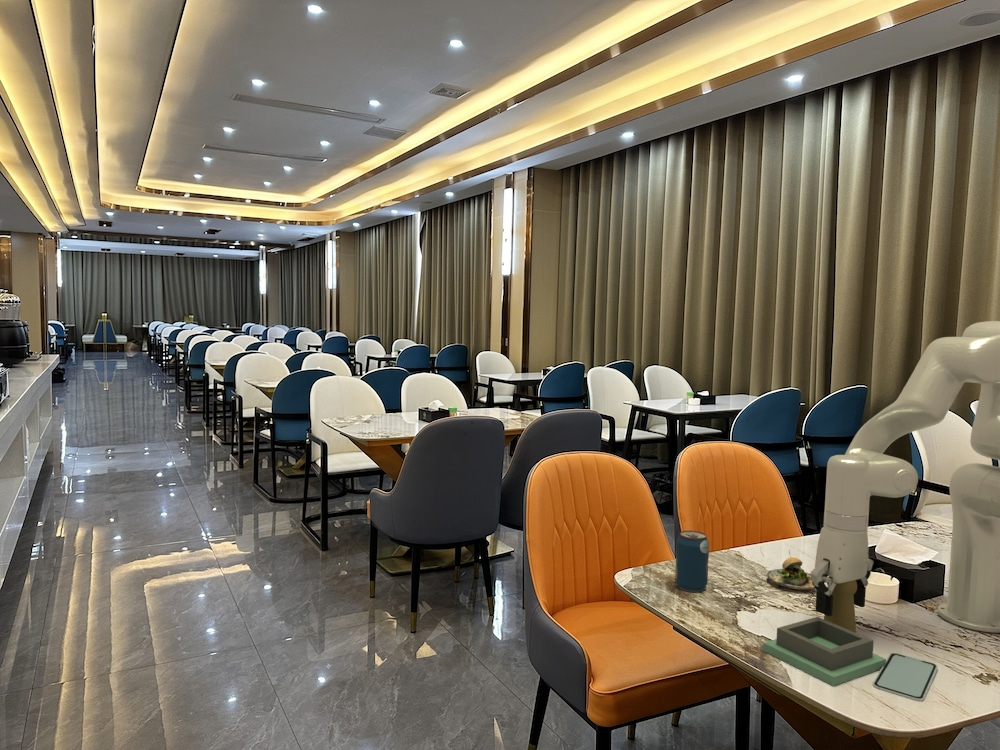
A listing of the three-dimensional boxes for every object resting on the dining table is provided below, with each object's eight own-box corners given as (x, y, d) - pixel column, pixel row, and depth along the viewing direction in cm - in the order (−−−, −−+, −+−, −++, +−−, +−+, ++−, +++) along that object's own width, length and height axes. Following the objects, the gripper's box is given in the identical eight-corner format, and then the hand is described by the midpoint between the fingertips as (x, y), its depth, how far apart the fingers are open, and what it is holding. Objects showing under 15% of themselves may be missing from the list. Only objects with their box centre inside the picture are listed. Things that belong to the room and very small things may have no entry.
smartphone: (871, 685, 115) (890, 651, 127) (870, 690, 115) (890, 656, 127) (923, 700, 111) (938, 664, 122) (923, 706, 111) (938, 669, 122)
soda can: (713, 590, 156) (716, 537, 155) (687, 594, 153) (689, 540, 152) (694, 580, 162) (696, 528, 161) (668, 583, 160) (670, 531, 159)
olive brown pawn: (860, 640, 133) (864, 582, 132) (826, 636, 134) (829, 579, 133) (851, 626, 139) (855, 571, 138) (818, 623, 140) (821, 568, 139)
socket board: (814, 635, 134) (815, 612, 134) (885, 667, 122) (887, 642, 122) (763, 650, 127) (764, 626, 127) (833, 686, 115) (835, 659, 115)
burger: (771, 592, 157) (773, 559, 156) (761, 574, 168) (763, 543, 168) (829, 597, 155) (831, 563, 154) (815, 578, 166) (817, 547, 166)
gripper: (855, 511, 142) (850, 595, 143) (798, 521, 134) (793, 609, 135) (892, 521, 136) (886, 608, 137) (834, 531, 127) (828, 624, 128)
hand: (840, 609), depth 136 cm, fingers open, 9 cm apart
